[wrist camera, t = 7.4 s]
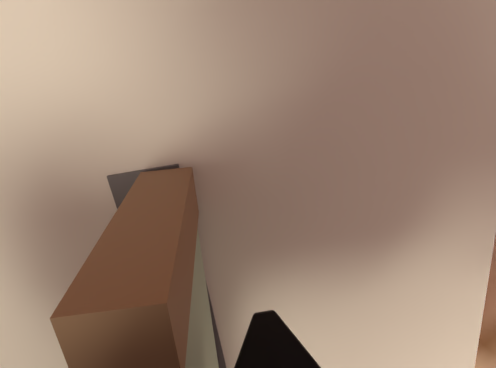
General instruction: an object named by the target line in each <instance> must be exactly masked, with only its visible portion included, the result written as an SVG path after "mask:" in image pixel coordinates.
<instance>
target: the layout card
mask: <svg viewBox="0 0 496 368" xmlns="http://www.w3.org/2000/svg"><path fill="white" fill-rule="evenodd" d="M185 167H192V169H193V176H194V183H195V189H196V196H197V203H198V210H199V217H198V233H199V239H200V246H201V253H202V259H203V266H204V272H205V279H206V286H207V292H208V299H209V305H210V312H211V318H212V325H213V332H214V338H215V345H216V351H217V358H218V365H219V368H234V366H235V364H236V361H237V358H238V355H239V352H240V350H241V347H242V344H243V341H244V338H245V336H246V333H247V330H248V327H249V324H250V322H251V319H252V316H253V314H254V313H256V312H262V311H268V310H274V311H275V312H276V313H277V314H278V315H279V316H280V318H281V319H282V320H283V321H284V323H285V324H286V325H287V326H288V327H289V329H290V330H291V331H292V332H293V334H294V335H295V336H296V337H297V339H298V340H299V341H300V342H301V344H302V345H303V346H304V347H305V348H306V350H307V351H308V352H309V353H310V355H311V356H312V357H313V358H314V360H315V361H316V362H317V363H318V365H319V366H320V367H321V368H475V361H476V355H477V349H478V343H479V336H480V330H481V324H482V317H483V311H484V305H485V298H486V292H487V286H488V279H489V273H490V267H491V260H492V254H493V248H494V241H495V235H496V0H0V368H68V365H67V362H66V360H65V357H64V355H63V352H62V349H61V347H60V344H59V342H58V339H57V336H56V334H55V331H54V329H53V326H52V323H51V321H50V317H51V315H52V314H53V312H54V311H55V309H56V307H57V306H58V304H59V303H60V301H61V299H62V298H63V296H64V294H65V293H66V291H67V290H68V288H69V286H70V285H71V283H72V282H73V280H74V278H75V277H76V275H77V274H78V272H79V270H80V269H81V267H82V266H83V264H84V262H85V261H86V259H87V258H88V256H89V254H90V253H91V251H92V250H93V248H94V246H95V245H96V243H97V241H98V240H99V238H100V237H101V235H102V233H103V232H104V230H105V229H106V227H107V225H108V224H109V222H110V221H111V219H112V217H113V216H114V214H115V213H116V211H117V209H118V208H119V206H120V205H121V203H122V201H123V200H124V198H125V197H126V195H127V193H128V192H129V190H130V188H131V187H132V185H133V184H134V182H135V180H136V179H137V177H138V176H139V174H140V172H147V171H157V170H166V169H176V168H185Z"/></svg>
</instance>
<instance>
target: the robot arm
mask: <svg viewBox="0 0 496 368" xmlns="http://www.w3.org/2000/svg"><path fill="white" fill-rule="evenodd" d="M234 368H321V367H320V366H319V365H318V363H317V362H316V361H315V360H314V358H313V357H312V356H311V355H310V353H309V352H308V351H307V350H306V348H305V347H304V346H303V345H302V344H301V342H300V341H299V340H298V339H297V337H296V336H295V335H294V334H293V332H292V331H291V330H290V329H289V327H288V326H287V325H286V324H285V323H284V321H283V320H282V319H281V318H280V316H279V315H278V314H277V313H276V312H275V311H274V310H268V311H262V312H256V313H254V314H253V316H252V319H251V322H250V324H249V327H248V330H247V333H246V336H245V338H244V341H243V344H242V347H241V350H240V352H239V355H238V358H237V361H236V364H235V366H234Z"/></svg>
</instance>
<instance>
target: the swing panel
mask: <svg viewBox="0 0 496 368" xmlns="http://www.w3.org/2000/svg"><path fill="white" fill-rule="evenodd" d="M198 217H199V210H198V203H197V196H196V189H195V183H194V176H193V169H192V167H185V168H176V169H166V170H157V171H147V172H140V174H139V176H138V177H137V179H136V180H135V182H134V184H133V185H132V187H131V188H130V190H129V192H128V193H127V195H126V197H125V198H124V200H123V201H122V203H121V205H120V206H119V208H118V209H117V211H116V213H115V214H114V216H113V217H112V219H111V221H110V222H109V224H108V225H107V227H106V229H105V230H104V232H103V233H102V235H101V237H100V238H99V240H98V241H97V243H96V245H95V246H94V248H93V250H92V251H91V253H90V254H89V256H88V258H87V259H86V261H85V262H84V264H83V266H82V267H81V269H80V270H79V272H78V274H77V275H76V277H75V278H74V280H73V282H72V283H71V285H70V286H69V288H68V290H67V291H66V293H65V294H64V296H63V298H62V299H61V301H60V303H59V304H58V306H57V307H56V309H55V311H54V312H53V314H52V315H51V317H50V321H51V323H52V326H53V329H54V331H55V334H56V336H57V339H58V342H59V344H60V347H61V349H62V352H63V355H64V357H65V360H66V362H67V365H68V368H219V365H218V358H217V351H216V345H215V338H214V332H213V325H212V318H211V312H210V305H209V299H208V292H207V286H206V279H205V272H204V266H203V259H202V253H201V246H200V239H199V233H198Z"/></svg>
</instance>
